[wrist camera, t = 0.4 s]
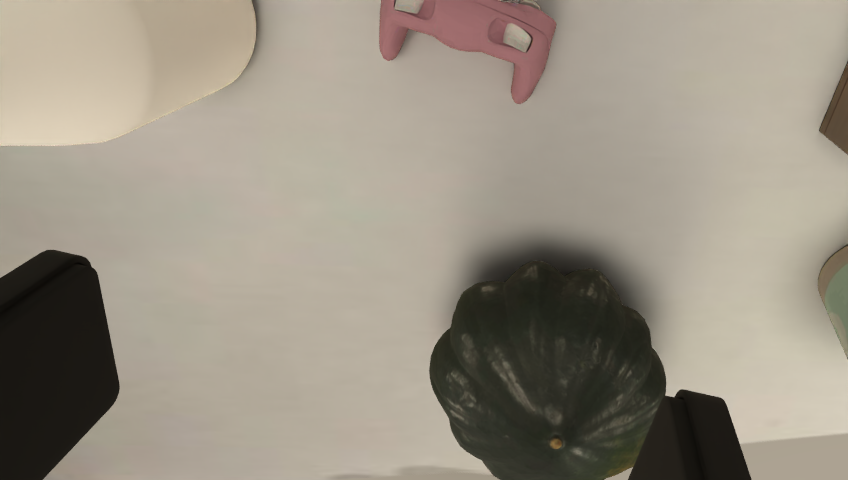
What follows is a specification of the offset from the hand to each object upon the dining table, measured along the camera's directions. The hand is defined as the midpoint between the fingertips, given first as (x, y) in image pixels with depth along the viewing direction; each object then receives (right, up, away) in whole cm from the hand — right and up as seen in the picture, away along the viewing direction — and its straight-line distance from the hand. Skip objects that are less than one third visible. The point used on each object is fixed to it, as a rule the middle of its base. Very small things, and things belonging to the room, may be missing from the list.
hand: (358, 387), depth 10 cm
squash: (+10, -4, +34) cm, 36 cm away
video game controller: (+4, +15, +26) cm, 30 cm away
